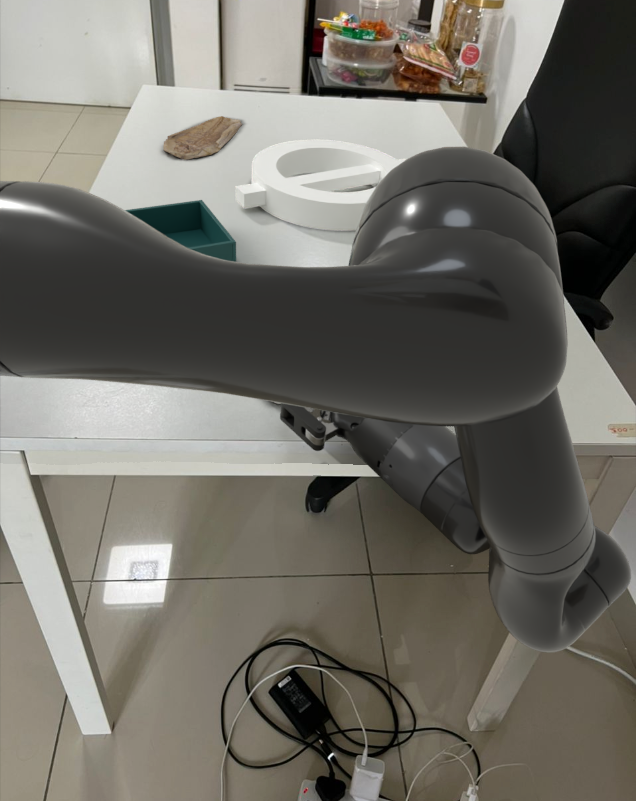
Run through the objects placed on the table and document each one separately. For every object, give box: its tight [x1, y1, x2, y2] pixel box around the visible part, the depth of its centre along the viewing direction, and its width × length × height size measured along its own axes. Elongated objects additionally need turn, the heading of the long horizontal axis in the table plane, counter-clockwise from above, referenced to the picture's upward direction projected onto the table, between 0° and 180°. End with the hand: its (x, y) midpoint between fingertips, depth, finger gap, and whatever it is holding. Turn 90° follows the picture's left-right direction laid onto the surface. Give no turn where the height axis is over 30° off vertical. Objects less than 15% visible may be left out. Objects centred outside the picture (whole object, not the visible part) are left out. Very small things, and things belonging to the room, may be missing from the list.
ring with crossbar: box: [234, 138, 408, 232], centre depth 115 cm, size 28×28×5 cm
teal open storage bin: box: [124, 199, 237, 262], centre depth 93 cm, size 14×14×5 cm
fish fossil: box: [162, 115, 243, 161], centre depth 132 cm, size 26×10×1 cm, turn 167°
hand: (310, 359), depth 68 cm, fingers open, 8 cm apart
